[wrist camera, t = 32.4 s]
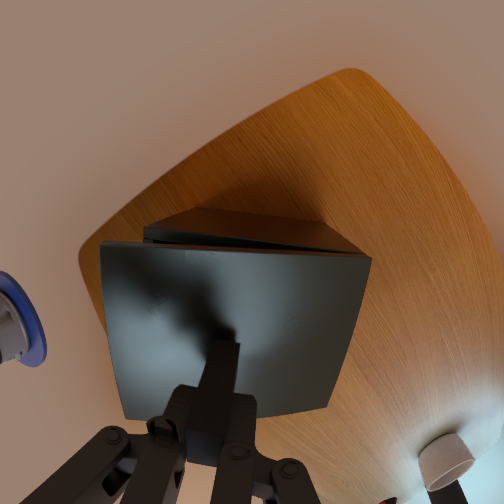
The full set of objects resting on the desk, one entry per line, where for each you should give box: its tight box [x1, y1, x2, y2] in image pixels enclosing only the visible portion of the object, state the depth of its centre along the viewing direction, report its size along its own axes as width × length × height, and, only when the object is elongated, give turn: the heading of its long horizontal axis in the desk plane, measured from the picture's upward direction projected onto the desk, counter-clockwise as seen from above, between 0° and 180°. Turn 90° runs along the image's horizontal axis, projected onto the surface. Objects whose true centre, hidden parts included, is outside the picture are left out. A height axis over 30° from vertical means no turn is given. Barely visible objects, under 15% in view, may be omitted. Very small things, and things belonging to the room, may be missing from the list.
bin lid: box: [99, 241, 372, 421], centre depth 16 cm, size 15×13×1 cm
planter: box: [419, 434, 475, 491], centre depth 35 cm, size 12×12×11 cm
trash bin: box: [143, 207, 366, 255], centre depth 25 cm, size 15×13×14 cm
